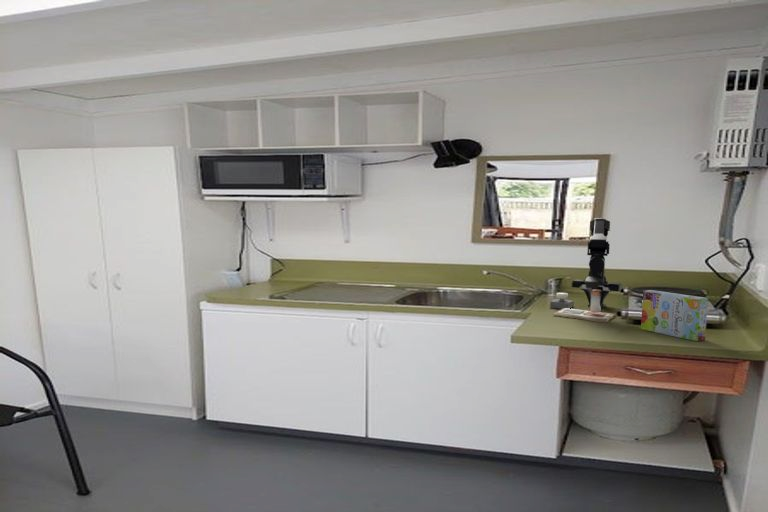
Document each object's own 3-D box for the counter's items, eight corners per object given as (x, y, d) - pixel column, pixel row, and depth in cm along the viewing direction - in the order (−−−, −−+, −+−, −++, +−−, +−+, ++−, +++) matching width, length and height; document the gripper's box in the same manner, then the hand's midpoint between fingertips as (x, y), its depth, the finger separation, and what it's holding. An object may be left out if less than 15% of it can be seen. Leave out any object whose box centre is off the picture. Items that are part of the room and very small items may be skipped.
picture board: (564, 310, 227) (564, 307, 227) (614, 316, 214) (614, 313, 214) (553, 315, 215) (553, 312, 215) (605, 322, 203) (605, 319, 202)
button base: (556, 305, 238) (556, 298, 238) (573, 307, 234) (573, 300, 233) (550, 307, 232) (550, 301, 232) (567, 309, 227) (568, 303, 227)
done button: (558, 302, 236) (558, 292, 236) (569, 304, 233) (569, 293, 233) (554, 304, 232) (554, 293, 232) (565, 305, 229) (566, 294, 229)
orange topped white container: (591, 310, 215) (592, 289, 214) (602, 311, 212) (602, 290, 211) (588, 311, 211) (589, 290, 211) (599, 312, 209) (600, 291, 208)
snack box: (706, 340, 176) (709, 297, 175) (697, 342, 174) (699, 299, 172) (648, 327, 195) (650, 288, 193) (639, 329, 192) (641, 290, 190)
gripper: (568, 269, 209) (566, 306, 211) (616, 272, 198) (614, 311, 200) (576, 266, 218) (575, 301, 220) (623, 269, 207) (621, 307, 208)
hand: (595, 305), depth 212 cm, fingers closed on orange topped white container, 4 cm apart
